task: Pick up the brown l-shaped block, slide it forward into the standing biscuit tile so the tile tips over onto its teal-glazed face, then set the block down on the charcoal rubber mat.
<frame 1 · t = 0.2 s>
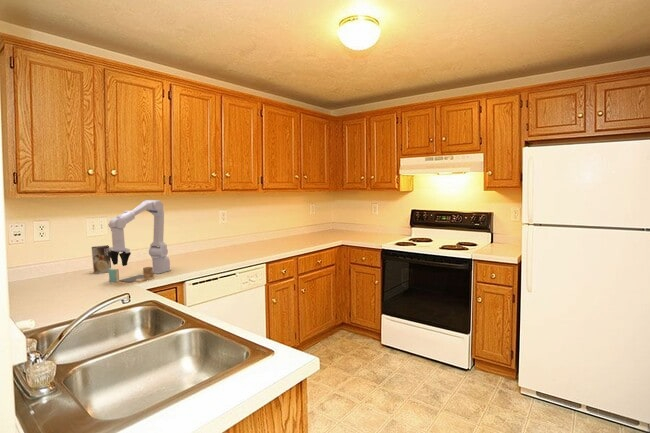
hand: (120, 265, 200), 10 cm above the table, fingers open, 7 cm apart
coffee box: (102, 272, 226), on the table
mat: (135, 278, 209), on the table
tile: (114, 281, 205), on the table
brown l-shaped block: (148, 279, 208), on the table
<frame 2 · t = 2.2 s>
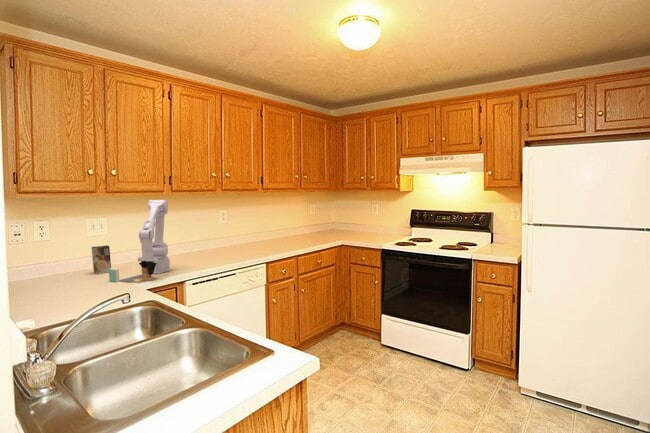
hand: (148, 274, 208), 3 cm above the table, fingers closed on brown l-shaped block, 3 cm apart
brown l-shaped block: (146, 279, 207), on the table, touching gripper
everything else where it was.
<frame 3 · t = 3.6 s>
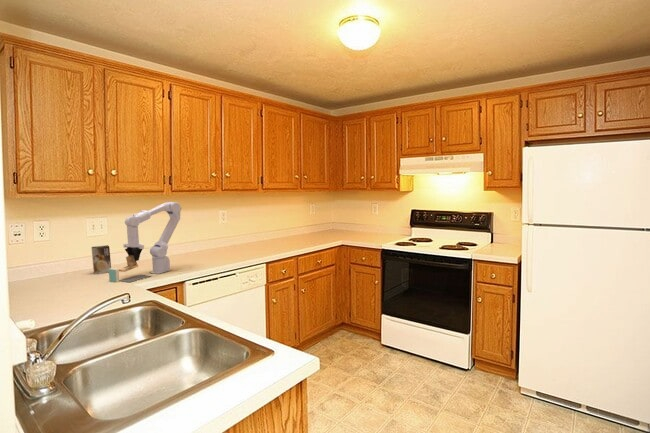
hand: (134, 260, 213), 10 cm above the table, fingers closed on brown l-shaped block, 3 cm apart
brown l-shaped block: (132, 267, 212), point 6 cm above the table, tilted 7°, touching gripper
everything else where it was.
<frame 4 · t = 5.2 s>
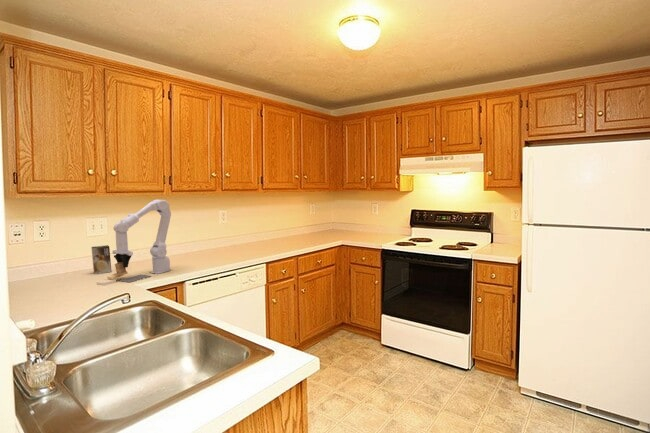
hand: (123, 267, 209), 7 cm above the table, fingers closed on brown l-shaped block, 3 cm apart
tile: (112, 280, 204), point 1 cm above the table, tilted 90°
brown l-shaped block: (121, 274, 209), point 3 cm above the table, tilted 8°, touching gripper
everything else where it was.
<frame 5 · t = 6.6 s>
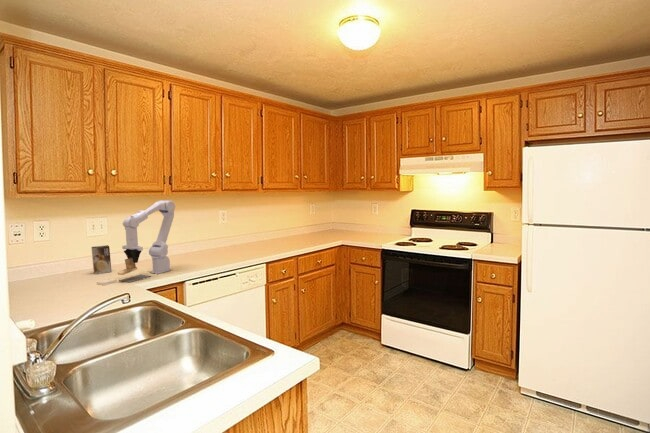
hand: (133, 262, 208), 9 cm above the table, fingers closed on brown l-shaped block, 3 cm apart
brown l-shaped block: (131, 270, 208), point 5 cm above the table, tilted 9°, touching gripper
everything else where it was.
when the fingers open (4 cm above the table, at t = 7.6 s): brown l-shaped block stays where it is, resting on mat.
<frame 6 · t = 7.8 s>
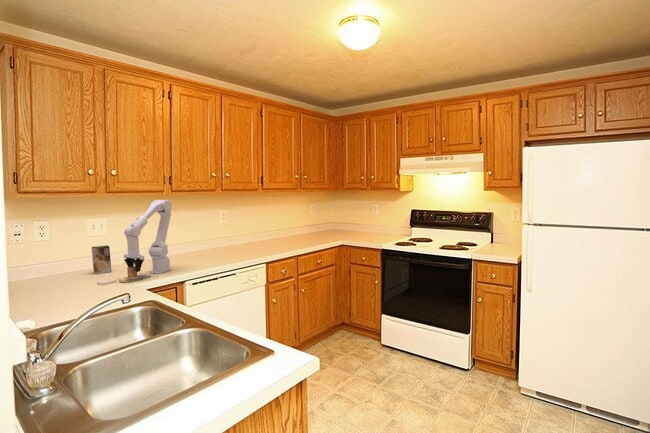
hand: (134, 271, 209), 4 cm above the table, fingers open, 5 cm apart
brown l-shaped block: (132, 278, 208), resting on mat
everything else where it was.
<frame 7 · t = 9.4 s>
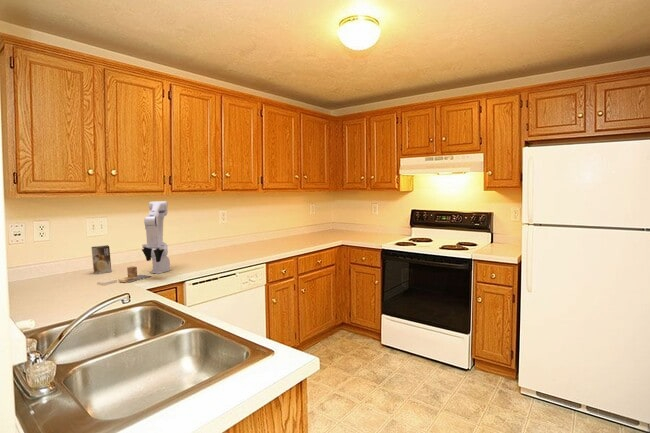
hand: (153, 261, 209), 10 cm above the table, fingers open, 7 cm apart
nothing on the table moved.
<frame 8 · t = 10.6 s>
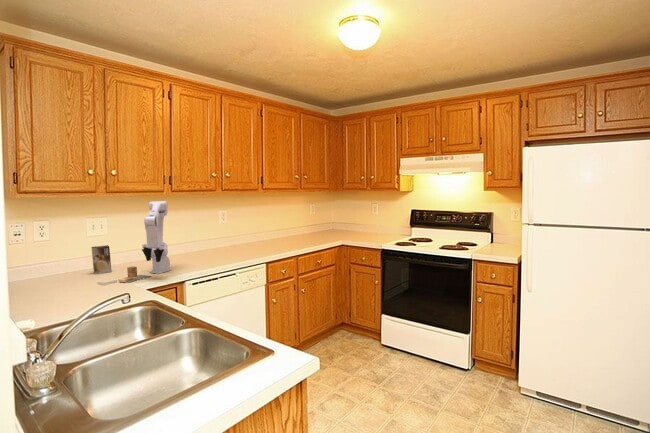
hand: (153, 261, 209), 10 cm above the table, fingers open, 7 cm apart
nothing on the table moved.
at the end: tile tilted 90°; brown l-shaped block inside the target area on the mat (1.6 cm from its centre), point 0.4 cm above the mat's base; the gripper is holding nothing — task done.
